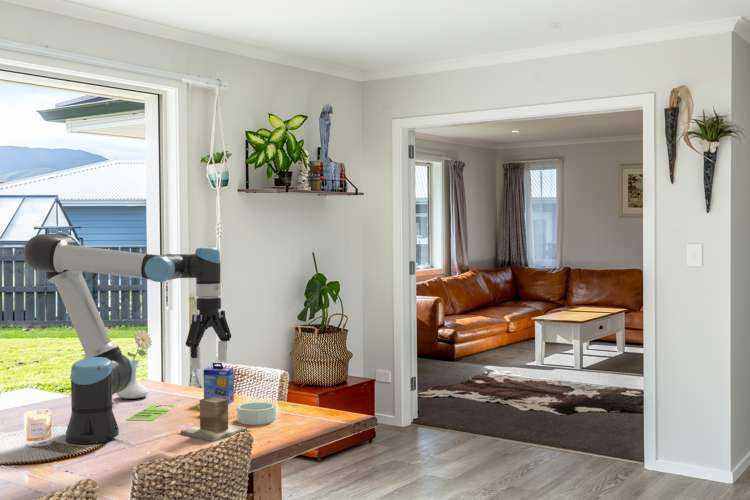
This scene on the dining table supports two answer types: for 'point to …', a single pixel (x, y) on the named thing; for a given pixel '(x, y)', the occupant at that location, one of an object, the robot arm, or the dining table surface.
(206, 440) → the mat
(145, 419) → the door hanger
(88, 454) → the dining table surface
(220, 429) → the lid
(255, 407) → the bowl
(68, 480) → the dining table surface
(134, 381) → the flower in vase
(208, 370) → the ink cartridge box
